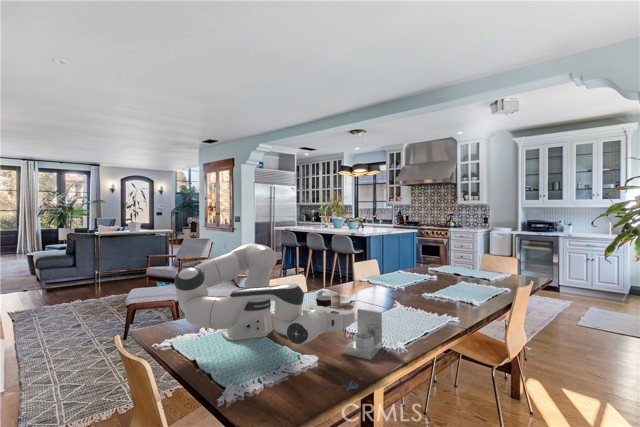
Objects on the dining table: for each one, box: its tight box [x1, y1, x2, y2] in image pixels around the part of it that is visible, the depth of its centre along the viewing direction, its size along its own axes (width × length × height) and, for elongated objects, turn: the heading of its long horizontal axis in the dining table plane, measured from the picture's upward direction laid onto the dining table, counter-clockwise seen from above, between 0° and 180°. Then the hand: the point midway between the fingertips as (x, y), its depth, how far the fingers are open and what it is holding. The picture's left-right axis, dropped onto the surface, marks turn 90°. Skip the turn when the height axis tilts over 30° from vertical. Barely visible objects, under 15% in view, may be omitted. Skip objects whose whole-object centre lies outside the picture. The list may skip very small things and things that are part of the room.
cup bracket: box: [345, 308, 383, 361], centre depth 132 cm, size 12×10×14 cm
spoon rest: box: [315, 288, 351, 308], centre depth 196 cm, size 24×12×7 cm, turn 44°
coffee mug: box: [315, 294, 331, 307], centre depth 173 cm, size 12×9×10 cm
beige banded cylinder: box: [331, 293, 341, 309], centre depth 135 cm, size 4×4×14 cm
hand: (336, 309), depth 136 cm, fingers closed on beige banded cylinder, 4 cm apart
